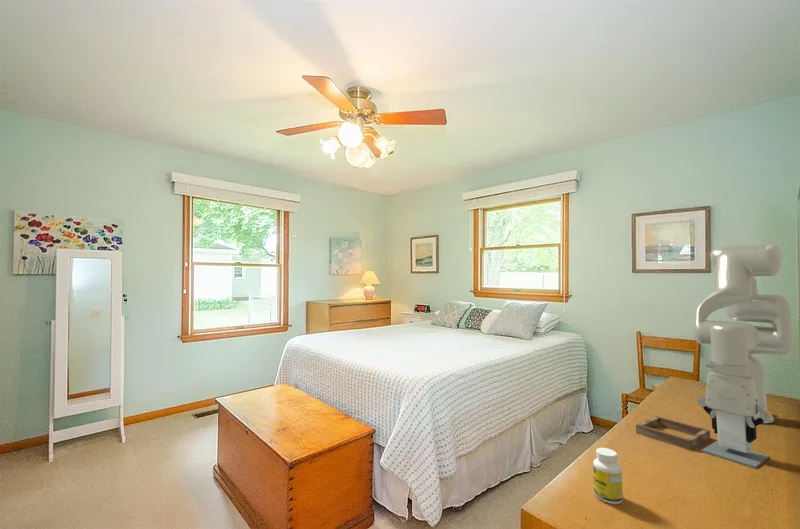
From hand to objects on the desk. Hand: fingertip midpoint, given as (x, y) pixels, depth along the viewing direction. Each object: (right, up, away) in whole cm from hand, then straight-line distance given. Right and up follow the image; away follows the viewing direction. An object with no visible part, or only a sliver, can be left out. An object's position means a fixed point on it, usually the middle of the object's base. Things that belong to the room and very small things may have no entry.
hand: (733, 436), depth 99 cm
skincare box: (0, -3, 0) cm, 3 cm away
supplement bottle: (-46, -4, -20) cm, 50 cm away
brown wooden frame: (-8, -6, +12) cm, 15 cm away
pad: (0, -5, 0) cm, 5 cm away
